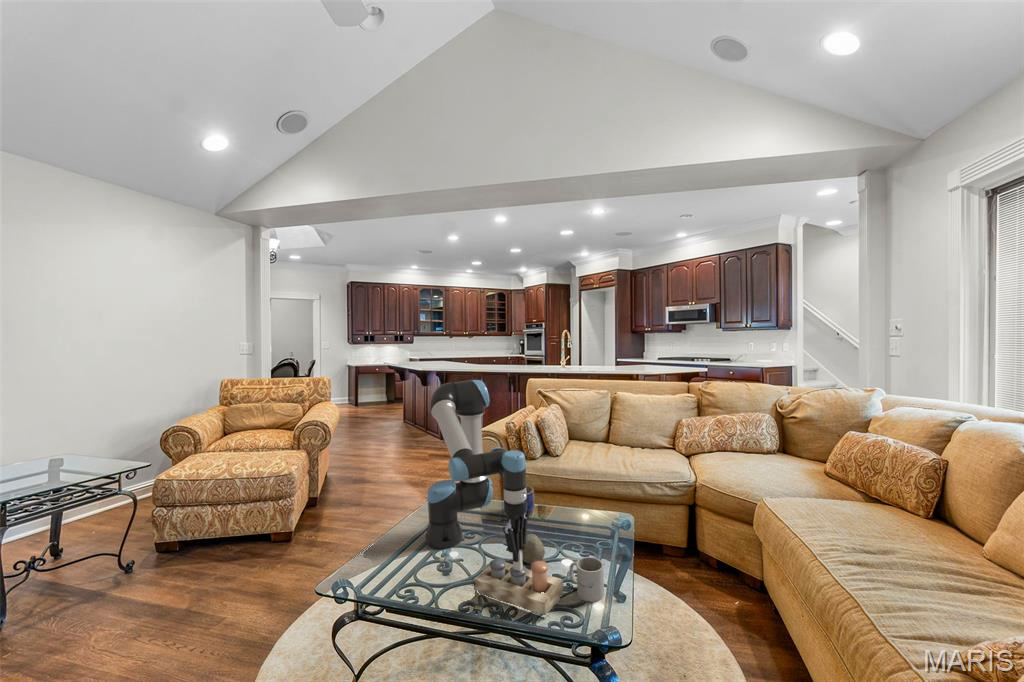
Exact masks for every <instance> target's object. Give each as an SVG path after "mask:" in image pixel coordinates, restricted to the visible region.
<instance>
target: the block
mask: <svg viewBox="0 0 1024 682" xmlns="http://www.w3.org/2000/svg"><path fill="white" fill-rule="evenodd" d="M512 566H513V563H510V562H506V566H505V576H504V577H503V578H502V579H501V580H499V579H496V578H493V577H491V568H490V565H488V566H487V567H486V568H485V569H484V570H483V571H482V572H481V573H479V575H477V576H476V577H475V578H474V586H475V587H474V588H475V594H476V595H478V594H477V590H480V591H481V593H483V594H484V595H486V596H488V597H491V598H494V599H497V600H499V601H503V602H506V603H510V604H513V605H516V606H519V607H522V608H524V609H527V610H530V611H535V612H539V613H542V614H544V615H546V614H547V613H548V612H549V611H550V610H551V608H552V607H553V606H554V605H555V604H556V603H557V604H558V603H559V601H560V600H561V598H562V597H563V596H562V595H564V580H563V579H561V578H558V577H554V576H551V575H549V574H547V585H548V587H547V589H546V590H544V591H536V590H534V589H533V585H532V570H531V569H529V568H526V583H525V584H524V585H523V587H520V586H517V585H514V584H511V574H510V568H511V567H512ZM541 592H544V593H545V594H544V595H543V594H541ZM561 596H562V597H561ZM560 597H561V598H560ZM557 604H556V605H557ZM556 605H555V606H556ZM555 606H554V607H555Z"/></svg>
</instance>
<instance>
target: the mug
mask: <svg viewBox="0 0 1024 682" xmlns="http://www.w3.org/2000/svg"><path fill="white" fill-rule="evenodd" d="M574 566H576V577H575V575H574ZM604 569H605V568H604V563H603V561H602V560H600V559H599V558H597V557H593V556H584V557H581V558H579V559H578V560H577V561H573V562H571V563H570V566H569V577H570V578H571V581H572V582H573V583H574V584H576V587H577V596H578V598H580V599H581V600H583V601H584V602H587V601H590V603H597V602H600V601H601V600H603V599H604V597H605V580H604V579H605V574H604V573H605V572H604Z"/></svg>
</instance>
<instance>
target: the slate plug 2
mask: <svg viewBox="0 0 1024 682" xmlns="http://www.w3.org/2000/svg"><path fill="white" fill-rule="evenodd" d="M526 569H527V568H526V566H525V565H523V569H522V570H521V571H518V570H515V569H513V566H512V567H511V568H510V574H511V584H514V585H517V586H520V587H523V585H524V584H525V583H526Z"/></svg>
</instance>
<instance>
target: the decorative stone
mask: <svg viewBox="0 0 1024 682" xmlns="http://www.w3.org/2000/svg"><path fill="white" fill-rule="evenodd" d="M523 546H524V547H525V549H522V561H524V562H525V563H526V564H530V565H531V564H532V563H533V562H535V561H543V559H544V557H545V554H546V551H545V545H544V543H543V542H542V541H541V539H540V538H539V536H537V535H536V534H535V533H533V534H532V533H529V534H528V533H527V534H526V544H525V545H523Z"/></svg>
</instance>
